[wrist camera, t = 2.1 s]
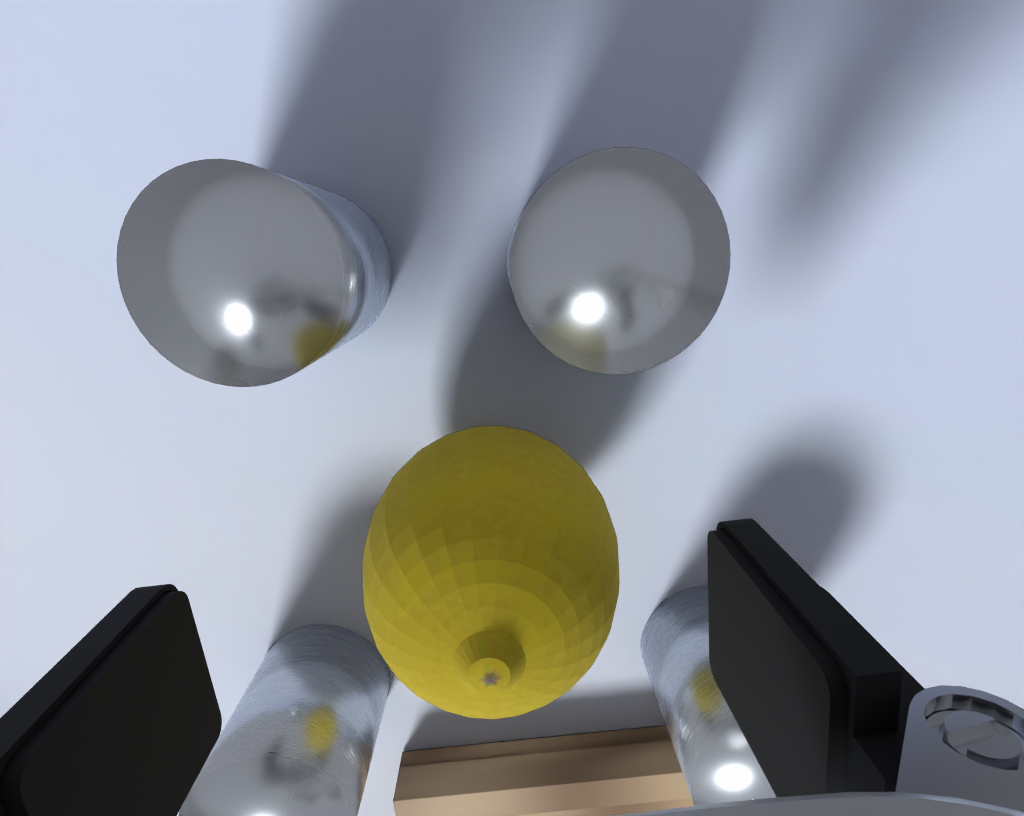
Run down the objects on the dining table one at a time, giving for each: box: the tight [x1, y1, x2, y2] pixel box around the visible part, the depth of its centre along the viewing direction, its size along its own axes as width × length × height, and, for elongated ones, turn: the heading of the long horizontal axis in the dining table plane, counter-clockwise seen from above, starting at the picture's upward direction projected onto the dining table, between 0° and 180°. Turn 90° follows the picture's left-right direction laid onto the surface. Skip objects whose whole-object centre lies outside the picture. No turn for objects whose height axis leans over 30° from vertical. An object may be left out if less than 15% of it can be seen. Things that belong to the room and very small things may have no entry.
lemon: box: [362, 426, 619, 719], centre depth 13 cm, size 6×6×8 cm
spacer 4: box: [641, 586, 777, 806], centre depth 16 cm, size 4×4×5 cm
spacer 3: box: [507, 147, 730, 374], centre depth 13 cm, size 4×4×5 cm
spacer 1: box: [117, 159, 392, 387], centre depth 13 cm, size 4×4×5 cm
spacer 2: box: [179, 625, 389, 816], centre depth 16 cm, size 4×4×5 cm
